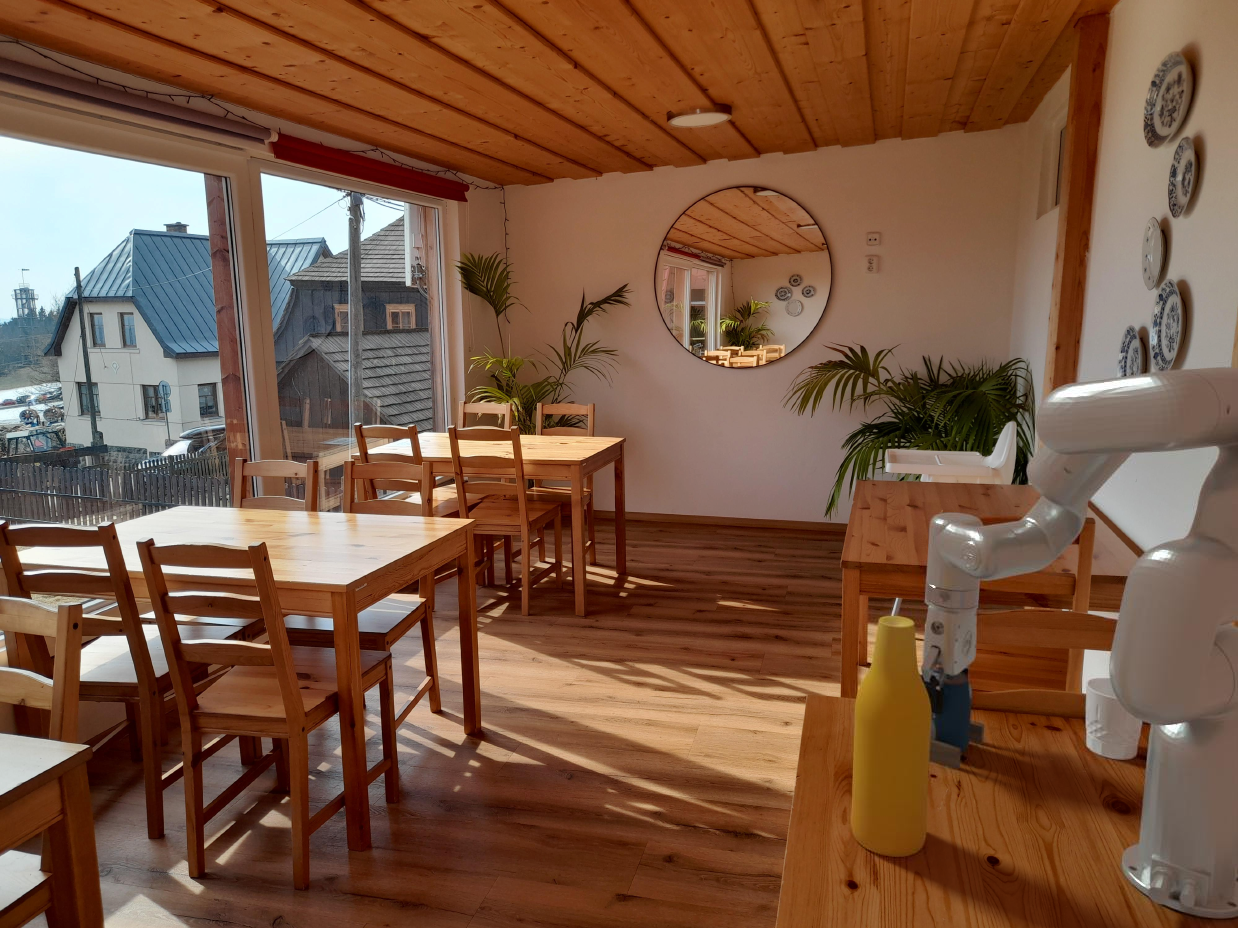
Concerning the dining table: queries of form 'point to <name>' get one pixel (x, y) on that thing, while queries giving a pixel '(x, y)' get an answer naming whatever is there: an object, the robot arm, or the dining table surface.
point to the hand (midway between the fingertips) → (944, 700)
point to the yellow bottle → (891, 746)
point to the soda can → (954, 712)
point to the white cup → (1109, 722)
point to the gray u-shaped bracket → (950, 753)
